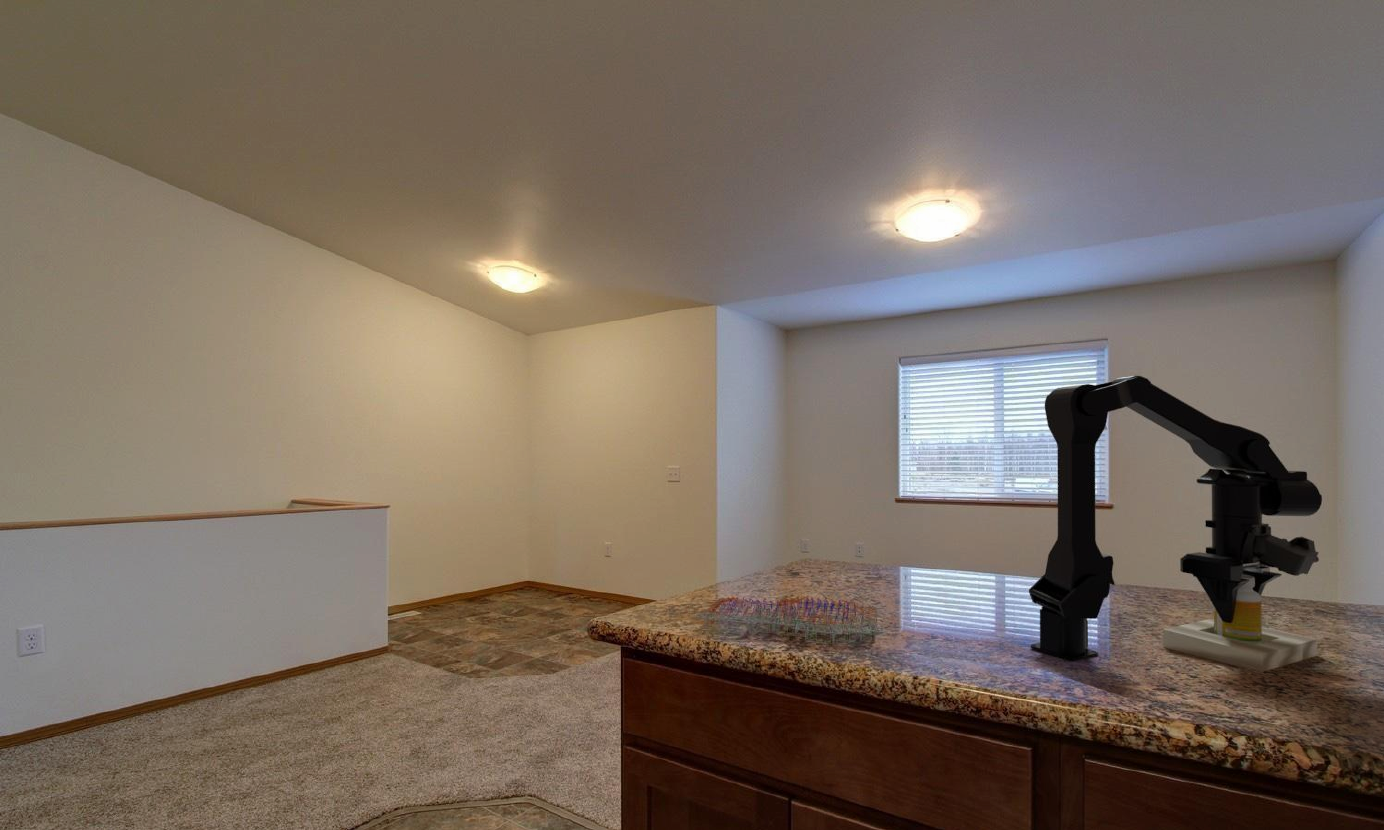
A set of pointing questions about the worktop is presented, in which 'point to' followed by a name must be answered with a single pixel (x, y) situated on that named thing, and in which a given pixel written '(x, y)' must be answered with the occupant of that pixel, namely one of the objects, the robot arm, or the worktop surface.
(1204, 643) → the bored board
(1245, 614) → the supplement bottle
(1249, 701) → the worktop surface
